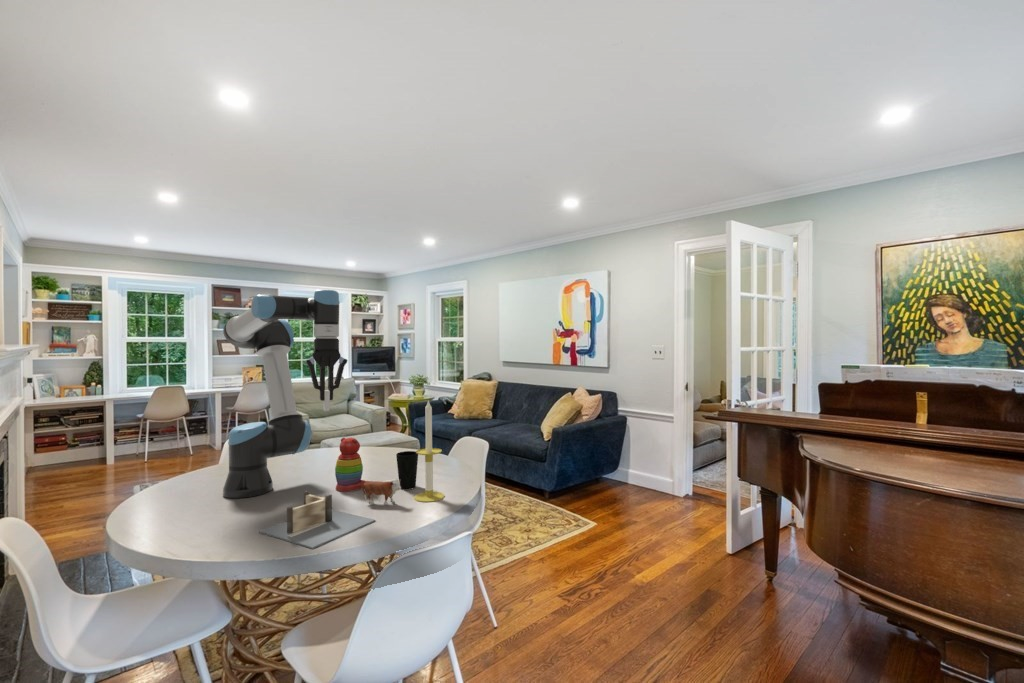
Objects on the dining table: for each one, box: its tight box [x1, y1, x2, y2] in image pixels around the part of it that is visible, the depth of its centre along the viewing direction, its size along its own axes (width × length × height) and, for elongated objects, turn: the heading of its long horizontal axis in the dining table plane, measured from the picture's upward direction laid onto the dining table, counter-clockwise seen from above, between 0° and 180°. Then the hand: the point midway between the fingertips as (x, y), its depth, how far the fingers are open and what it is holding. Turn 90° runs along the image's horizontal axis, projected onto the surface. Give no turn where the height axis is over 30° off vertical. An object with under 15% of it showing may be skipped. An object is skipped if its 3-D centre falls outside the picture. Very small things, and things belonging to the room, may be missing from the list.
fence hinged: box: [286, 499, 325, 533], centre depth 130 cm, size 11×1×7 cm, turn 144°
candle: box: [413, 399, 445, 503], centre depth 157 cm, size 10×10×32 cm
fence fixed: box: [303, 490, 333, 522], centre depth 138 cm, size 11×2×7 cm, turn 60°
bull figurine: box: [362, 478, 402, 506], centre depth 151 cm, size 4×13×8 cm, turn 78°
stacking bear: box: [334, 437, 366, 493], centre depth 168 cm, size 11×10×18 cm
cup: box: [395, 450, 419, 490], centre depth 168 cm, size 8×8×12 cm
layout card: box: [258, 508, 376, 550], centre depth 132 cm, size 22×21×1 cm
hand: (326, 410), depth 153 cm, fingers closed
